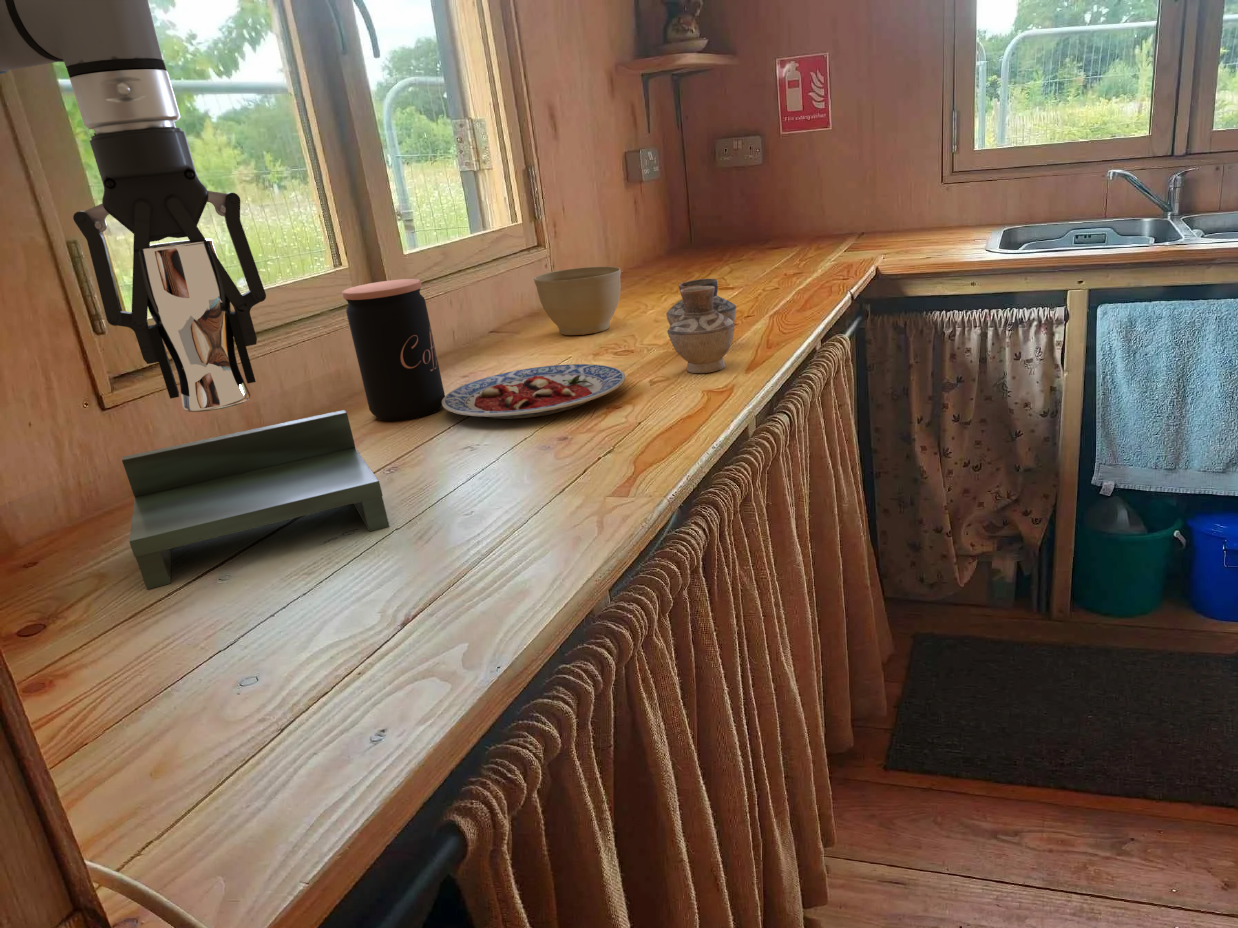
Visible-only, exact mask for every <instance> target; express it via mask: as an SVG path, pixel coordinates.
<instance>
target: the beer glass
mask: <svg viewBox="0 0 1238 928" xmlns="http://www.w3.org/2000/svg"><path fill="white" fill-rule="evenodd" d="M205 239H206V241H200V242H194V243H191V242H190V240H189V239H186V240H177V241H170V242H169V241H168V242H162V243H154V244H150V248H142V249H140V251H139V258H140V263H141V269H142V274H143V279H144V283H145V287H146V291H147V295H148V300H147V306H148V312H149V314H150V316H151V319H152V320H153V323H154V325H156V326H157V327H158V330H159V333H160V335H161V337H162V340H163V343H164V346H165V348H166V349H167V351H168V353H169V356H170V358H171V360H172V362H173V364H174V367H175V370H176V374H177V377H178V381H179V389H180V400H181V407H182V410H183V411H184V412H189V413H200V412H210V411H216V410H217V411H218V410H224V409H227V408H231V407H233V406H234V407H235V406H238V405H241V404H243V403H246V402H247V401H249V400H250V399H251V397H252V395H251V392H250V390H249V388H248V385H247V384H246V381H245V380H244V377H243V375H242V373H241V370H240V367H239V364H238V360H237V355H236V348H235V347H236V346H235V339H234V336H233V331H232V328H231V324H230V321H229V317H228V315H230V314H232V312H233V311H232V306H231V305H232V304H231V302H230V301H229V299H228V298H227V296H226V295H225V292H224V287H223V284H222V280H221V277H220V274H219V271H218V268H217V265H216V262H215V259H214V257H213V254H212V251H211V249H212V250H213V252H214V253H215V255H216V256H217V258H218V259H219V257H218V254H217V252H216V248H215V246H214V243H213V238H205ZM210 247H211V249H210Z"/></svg>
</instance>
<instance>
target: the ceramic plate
mask: <svg viewBox="0 0 1238 928" xmlns="http://www.w3.org/2000/svg"><path fill="white" fill-rule="evenodd" d="M625 381H626V374H625V372H623V370H621V369H619V368H616V367H612V366H608V365H602V364H591V363H590V364H589V363H587V364H586V363H576V364H575V363H574V364H572V363H571V364H554V365H553V364H552V365H545V366H537V367H529V368H523V369H517V370H512V371H511V370H510V371H507V372H503V373H498V374H493V375H490V376H486V377H483V378H480V379H477V380H474V381H471V382H468V383H465V384H463V385H461V386H459V387H457V388H455V389H452V390H451V391H449V392H448V393H447V394H446V395H445V397H444V398H443V400H442V408H443V409H444V410H446V411H448V412H451V413H454V414H457V415H462V416H471V417H486V418H490V419H502V420H503V419H504V420H514V419H516V420H517V419H529V418H537V417H542V416H548V415H553V414H558V413H562V412H566V411H569V410H572V409H574V408H578V407H580V406H582V405H584V404H587V403H588V402H591V400H592V401H593V400H595V399H599V398H601V397H602V396H603V397H604V396H605V395H608V394H610V393H612V392H613V391H615V390H617V389H618V388H620V387H621V386H622V385H623V384H624V383H625Z"/></svg>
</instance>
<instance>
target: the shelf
mask: <svg viewBox="0 0 1238 928" xmlns="http://www.w3.org/2000/svg"><path fill="white" fill-rule="evenodd" d="M121 462H122V466H123V468H124V471H125V474H126V476H127V480H128V483H129V485H130V488H131V491H132V492H131V493H132V494H133V497H134V500H133V508H132V517H131V524H130V531H129V540H128V543H129V545H130V549H131V551H132V554H133V557H134V558H135V559H136V563H137V566H138V569H139V571H140V574H141V577H142V580H143V584H144V586H145V589H146V590H152V589H155V588H158V587H163V586H166V585H170V584H171V582H172V581H171V580H172V579H171V578H172V549H174V548H178V547H183V546H187V545H191V544H195V543H200V542H204V541H208V540H211V539H216V538H220V537H223V536H227V535H232V534H236V533H240V532H243V531H247V530H251V529H252V530H253V529H254V528H255V529H256V528H259V527H265V526H267V525H272V524H275V523H280V522H283V521H288V520H291V519H297V518H301V517H305V516H308V515H313V514H316V513H321V512H324V511H328V510H332V509H337V508H340V507H345V506H349V505H352V504H353V506H354V508H355V509H356V511H357V513H358V515H359V516H360V518H361V519H362V522H363V523H364V525H365V526H366V528H367V530H368V532H374V531H377V530H381V529H384V528H389V527H390V523H389V518H388V514H387V509H386V506H385V502H384V497H383V491H382V488H381V482H380V480H379V479H378V477H377V476H376V475H375V473H374V471H372V468H370V466H369V465H368V463H367V462H366V460H365V459H364V457H363V456H362V455H361V454H360V452H359V450H358V449H357V447H356V443H355V440H354V435H353V431H352V427H351V424H350V420H349V416H348V412H347V411H346V410H345V409H343V410H337V411H332V412H328V413H327V412H326V413H323V414H318V415H313V416H308V417H303V418H299V419H295V420H289V421H285V422H281V423H275V424H271V425H266V426H260V427H256V428H251V429H247V430H242V431H238V432H233V433H228V434H224V435H219V436H214V437H210V438H209V437H208V438H205V439H199V440H195V441H191V442H184V443H181V444H176V445H171V446H166V447H162V448H156V449H153V450H147V451H143V452H139V453H133V454H129V455H123V456H122V459H121Z"/></svg>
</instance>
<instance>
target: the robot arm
mask: <svg viewBox="0 0 1238 928" xmlns="http://www.w3.org/2000/svg"><path fill="white" fill-rule="evenodd" d="M149 3H150V2H149V0H0V75H1V74H2V75H3V74H6V73H7V72H9V71H13V70H19V69H26V68H30V67H36V66H42V65H43V66H44V65H48V64H53V63H58V62H59V63H63V64H64V67H65V68H66V71H67V74H68V77H69V81H70V85H71V87H72V91H73V94H74V97H75V100H76V104H77V106H78V109H79V113H80V115H81V119H82V123H83V125H84V127H86V128H87V129H88V130H93V131H94V132H93V135H91V137H90V138H91V140H89V144H90V148H91V150H92V153H93V157H94V160H95V163H96V166H97V169H98V172H99V176H100V179H101V182H102V185H103V195H102V199H101V200H102V201H101V203H100V204H98V205H95V206H93V207H91V208H88V209H86V210H79V211H76V212H74V214H73V216H72V219H73V222H74V223H75V225H76V226H77V227H78V229H79V231H80V232H81V234H82V235H83V236H84V238H85V240H86V243H87V245H88V251H89V255H90V258H91V262H92V266H93V270H94V274H95V278H96V282H97V286H98V290H99V294H100V299H101V302H102V305H103V306H102V307H103V311H104V314H105V318H106V321H107V323H108V324H109V325H110V326H113V327H125V328H129V329H130V330H132V331H133V332H134V335H135V337H136V341H137V344H138V347H139V351H140V354H141V356H142V359H143V361H144V362H145V363H146V364H147V365H151V364H157V363H158V365H159V369H160V371H161V374H162V377H163V381H164V384H165V387H166V391H167V394H168V396H169V399H176V398H179V397H180V392H179V388H178V384H177V381H176V379H175V375H174V372H173V369H172V366H171V362H170V360H169V355H168V353H167V350H166V349H167V348H166V345H165V343H164V341H163V339H162V337H161V335H160V333H159V330H158V327H157V326H156V325H155V324H151V325H150V324H149V322H148V312H149V309H148V306H147V300H148V295H147V291H146V287H145V283H144V279H143V274H142V269H141V263H140V258H139V251H140V249H142V248H150V245H151V243H153V242H160V241H161V240H164V239H167V238H173V239H182V238H187V240H190V242H191V243H194V242H200V241H206V239H207V238H205V236H204V235H203V233H202V231H201V230H200V229H199V227H198V225H199V223H200V219H201V217H202V215H203V213H204V210H205V209H206V205H207V203H210V204H211V205H212V206H213V207H214V210H215V212H216V214H217V215H218V216H220V217H224V221H225V225H226V228H227V231H228V234H229V237H230V240H231V243H232V245H233V248H234V251H235V254H236V256H237V259H238V262H239V265H240V268H241V271H242V273H243V276H244V279H245V282H246V285H247V288H248V291H246V292H244V293H243V294H242V293H241V291H240V290H239V289H238V287H237V285H236V284H235V282H234V280H233V279H232V278H231V276H230V275H229V273H228V272H227V270H226V268H225V267H224V266H223V264H222V262H221V260H220V259H219V257H218V255H217V256H216V255H215V253H214V252H213V250H212V249H211V247H210V249H211V251H212V254H213V257H214V259H215V262H216V265H217V268H218V271H219V274H220V277H221V280H222V284H223V287H224V292H225V295H226V296H227V298H228V299H229V301H230V305H232V307H233V311H231V312H232V314H230V315H228V317H229V321H230V324H231V328H232V331H233V337H234V344H235V347H236V349H237V353H238V357H239V361H240V364H241V367H242V371H243V374H244V378H245V382H246V383H247V384H252V383H256V382H257V381H256V378H255V374H254V371H253V366H252V363H251V360H250V356H249V353H248V350H247V347H250V346H255V345H257V342H258V338H257V333H256V331H255V330H256V329H255V327H254V323H253V319H252V316H251V310H252V308H253V307H254V306H256V305H258V304H259V303H262V302H264V301H265V300H266V299H267V294H266V290H265V288H264V284H263V283H262V278H261V276H260V273H259V270H258V267H257V264H256V261H255V258H254V255H253V253H252V251H251V246H250V245H249V241H248V237H247V236H246V233H245V230H244V227H243V225H242V221H241V197H240V196H239V194H237V193H236V192H227V193H226V192H221V191H214V190H213V191H212V190H208V189H207V187H206V186H205V185H204V184H203V183H202V182H201V180H200V178H199V177H198V174H197V170H196V167H195V164H194V160H193V156H192V153H191V149H190V146H189V141H188V138H187V134H186V131H183V129H182V128H181V127H177V126H176V123H175V122H179V120H180V119H181V115H180V114H181V113H180V110H179V107H178V103H177V99H176V96H175V93H174V89H173V85H172V82H171V79H170V75H169V72H168V70H167V67H166V64H165V60H164V59H163V56H162V51H161V48H160V44H159V40H158V37H157V32H156V28H155V24H154V19H153V15H152V11H151V7H150V4H149ZM109 215H110V216H111V217H112V218H113V219H114V220H116V221H117V222H118V223H120V224H121V225H122V226H123V227H125V228H126V229H127V230H128V231H129V232H131V233H132V235H133V246H132V248H133V252H132V253H133V255H132V286H131V287H132V288H131V312H130V311H125V310H123V308H122V303H121V299H120V296H119V292H118V288H117V284H116V280H115V275H114V272H113V268H112V264H111V263H112V262H111V260H110V255H109V252H108V247H107V243H106V240H105V237H104V235H103V232H105V231H106V230H107V229H108V224H107V221H106V219H107V217H108V216H109ZM217 257H218V258H217Z"/></svg>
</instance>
